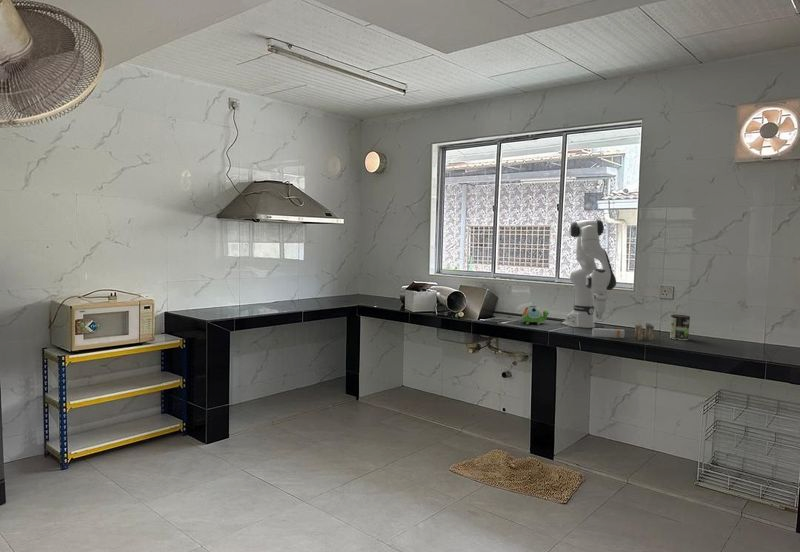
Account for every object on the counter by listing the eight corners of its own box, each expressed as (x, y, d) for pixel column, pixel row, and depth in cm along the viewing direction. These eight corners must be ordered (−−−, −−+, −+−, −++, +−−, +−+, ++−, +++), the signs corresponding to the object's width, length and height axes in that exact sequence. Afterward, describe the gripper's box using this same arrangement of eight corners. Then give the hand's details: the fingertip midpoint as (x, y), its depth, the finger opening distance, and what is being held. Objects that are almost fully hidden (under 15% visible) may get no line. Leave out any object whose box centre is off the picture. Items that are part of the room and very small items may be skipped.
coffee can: (692, 339, 334) (693, 316, 333) (682, 340, 329) (684, 317, 328) (675, 336, 343) (677, 313, 342) (666, 338, 337) (667, 315, 336)
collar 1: (638, 339, 329) (639, 325, 329) (634, 336, 340) (635, 322, 339) (642, 339, 329) (643, 325, 328) (638, 336, 340) (638, 322, 339)
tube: (593, 336, 337) (593, 329, 337) (591, 335, 342) (592, 327, 341) (624, 338, 334) (624, 330, 334) (622, 336, 338) (623, 329, 338)
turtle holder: (551, 325, 377) (551, 307, 376) (524, 324, 376) (525, 307, 375) (545, 322, 389) (546, 305, 388) (520, 321, 388) (520, 304, 387)
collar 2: (649, 340, 328) (650, 326, 328) (645, 337, 339) (645, 323, 338) (653, 340, 328) (653, 326, 327) (648, 337, 339) (649, 323, 338)
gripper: (591, 294, 348) (591, 316, 348) (596, 297, 328) (595, 320, 328) (602, 294, 346) (601, 316, 347) (607, 297, 326) (607, 320, 327)
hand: (598, 318), depth 338 cm, fingers open, 8 cm apart
